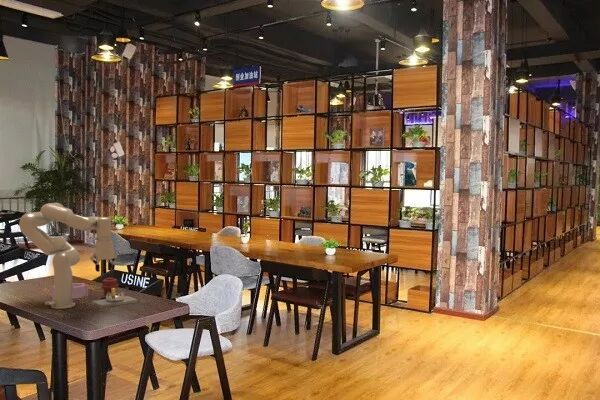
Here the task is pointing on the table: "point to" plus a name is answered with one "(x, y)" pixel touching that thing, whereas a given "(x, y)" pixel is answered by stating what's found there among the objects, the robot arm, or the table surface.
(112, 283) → the mechanical component
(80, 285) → the pink rectangular box
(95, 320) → the table surface
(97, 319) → the table surface
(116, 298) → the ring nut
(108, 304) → the base plate
